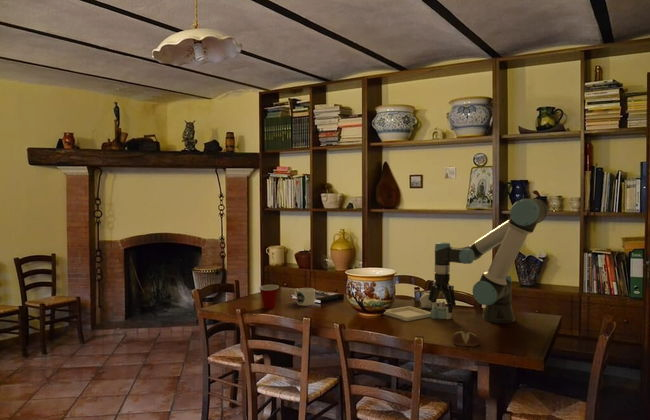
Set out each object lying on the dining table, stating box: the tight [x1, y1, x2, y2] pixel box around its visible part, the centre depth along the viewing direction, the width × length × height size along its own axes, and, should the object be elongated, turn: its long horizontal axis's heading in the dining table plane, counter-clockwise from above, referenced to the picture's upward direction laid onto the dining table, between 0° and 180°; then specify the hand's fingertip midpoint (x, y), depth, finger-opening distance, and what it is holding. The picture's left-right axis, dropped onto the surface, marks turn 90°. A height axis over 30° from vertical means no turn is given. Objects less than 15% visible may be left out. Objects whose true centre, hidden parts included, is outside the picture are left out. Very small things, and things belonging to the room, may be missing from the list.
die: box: [419, 292, 432, 309], centre depth 282 cm, size 8×9×10 cm
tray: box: [383, 305, 431, 322], centre depth 265 cm, size 18×18×2 cm
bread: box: [452, 330, 481, 348], centre depth 217 cm, size 11×11×5 cm
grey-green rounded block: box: [430, 306, 447, 320], centre depth 260 cm, size 11×8×4 cm
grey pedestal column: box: [438, 300, 446, 310], centre depth 261 cm, size 6×6×8 cm
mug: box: [293, 287, 316, 307], centre depth 292 cm, size 13×10×8 cm
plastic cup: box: [258, 284, 280, 310], centre depth 280 cm, size 11×11×12 cm
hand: (441, 316), depth 261 cm, fingers open, 9 cm apart
